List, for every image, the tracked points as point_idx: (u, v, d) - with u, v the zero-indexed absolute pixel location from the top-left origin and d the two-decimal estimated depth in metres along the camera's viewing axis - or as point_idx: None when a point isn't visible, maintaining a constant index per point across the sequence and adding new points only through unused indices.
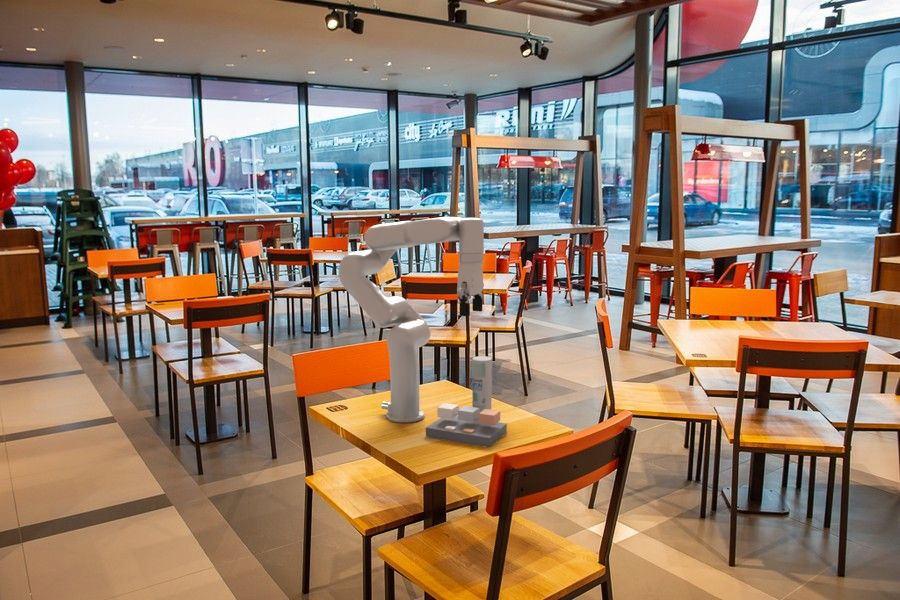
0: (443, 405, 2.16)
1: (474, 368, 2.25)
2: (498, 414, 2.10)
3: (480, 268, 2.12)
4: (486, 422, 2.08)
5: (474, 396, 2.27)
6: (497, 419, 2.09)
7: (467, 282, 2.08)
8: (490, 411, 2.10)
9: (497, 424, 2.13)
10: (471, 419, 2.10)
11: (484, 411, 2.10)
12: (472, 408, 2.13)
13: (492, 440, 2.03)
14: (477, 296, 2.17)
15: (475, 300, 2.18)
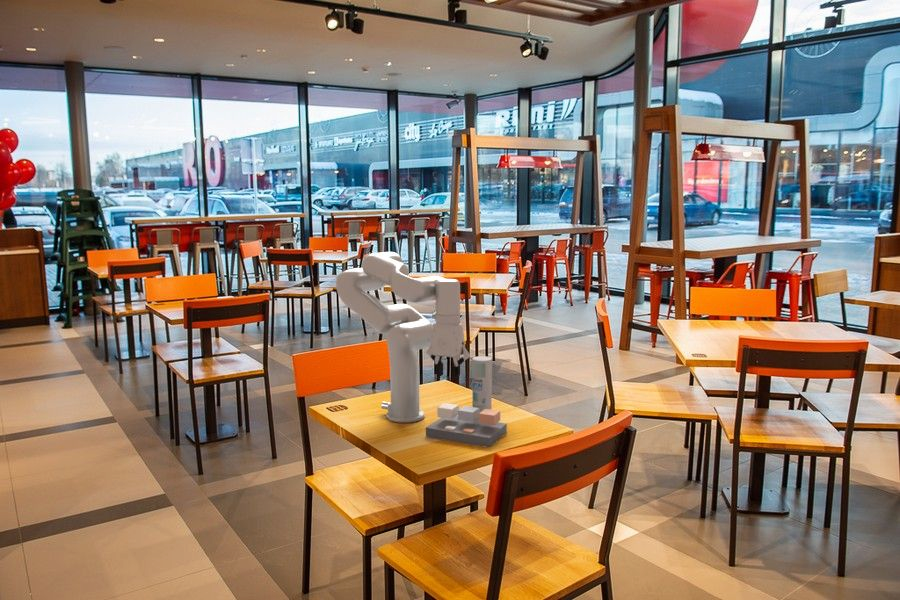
0: (443, 405, 2.16)
1: (474, 368, 2.25)
2: (498, 414, 2.10)
3: None
4: (486, 422, 2.08)
5: (474, 396, 2.27)
6: (497, 419, 2.09)
7: (463, 341, 2.11)
8: (490, 411, 2.10)
9: (497, 424, 2.13)
10: (471, 419, 2.10)
11: (484, 411, 2.10)
12: (472, 408, 2.13)
13: (492, 440, 2.03)
14: (440, 361, 2.15)
15: (440, 365, 2.14)
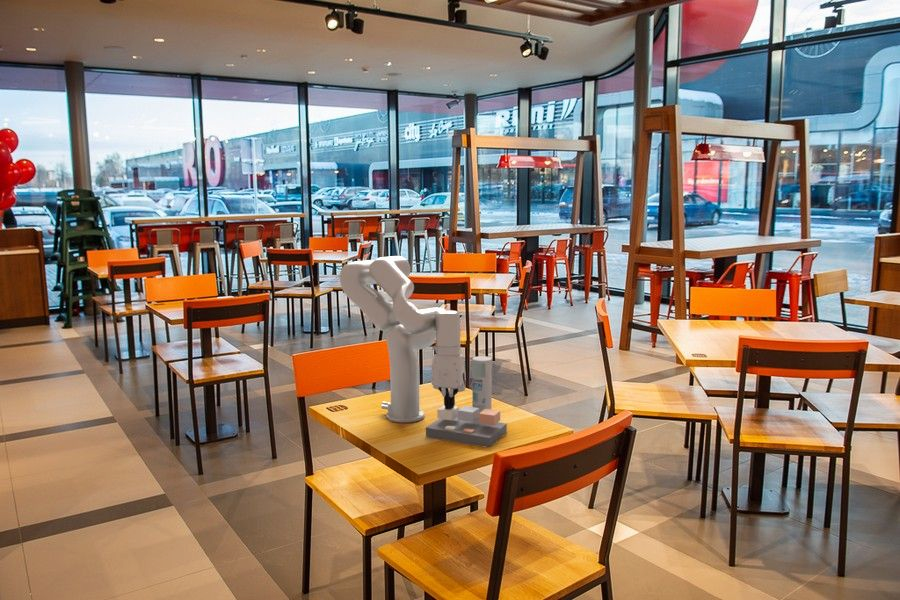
0: (443, 407, 2.16)
1: (474, 368, 2.25)
2: (498, 414, 2.10)
3: None
4: (486, 422, 2.08)
5: (474, 396, 2.27)
6: (497, 419, 2.09)
7: (464, 372, 2.12)
8: (490, 411, 2.10)
9: (497, 424, 2.13)
10: (471, 419, 2.10)
11: (484, 411, 2.10)
12: (472, 408, 2.13)
13: (492, 440, 2.03)
14: (447, 393, 2.15)
15: None
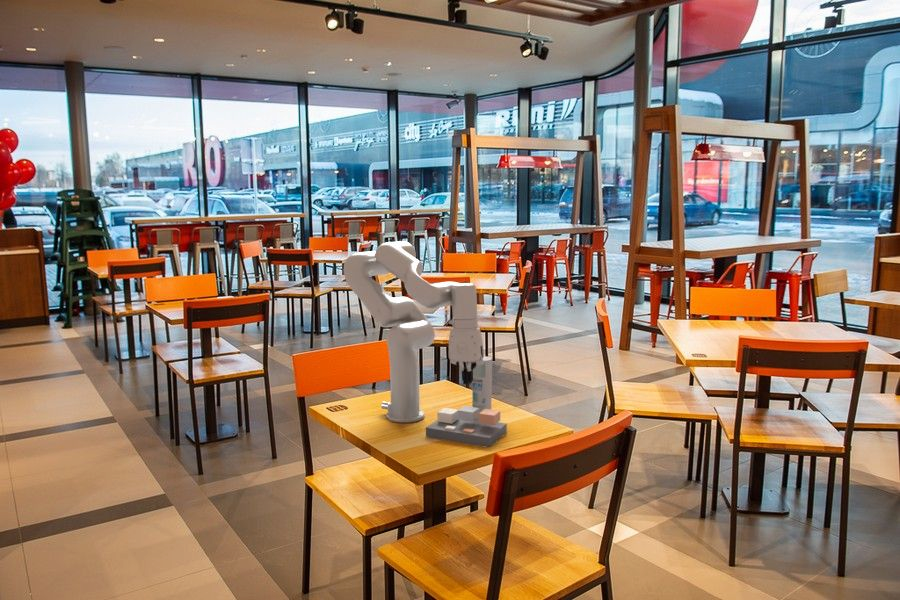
0: (443, 410, 2.16)
1: (474, 368, 2.25)
2: (498, 414, 2.10)
3: None
4: (486, 422, 2.08)
5: (474, 396, 2.27)
6: (497, 419, 2.09)
7: (482, 346, 2.08)
8: (490, 411, 2.10)
9: (497, 424, 2.13)
10: (471, 419, 2.10)
11: (484, 411, 2.10)
12: (472, 408, 2.13)
13: (492, 440, 2.03)
14: (465, 368, 2.11)
15: None
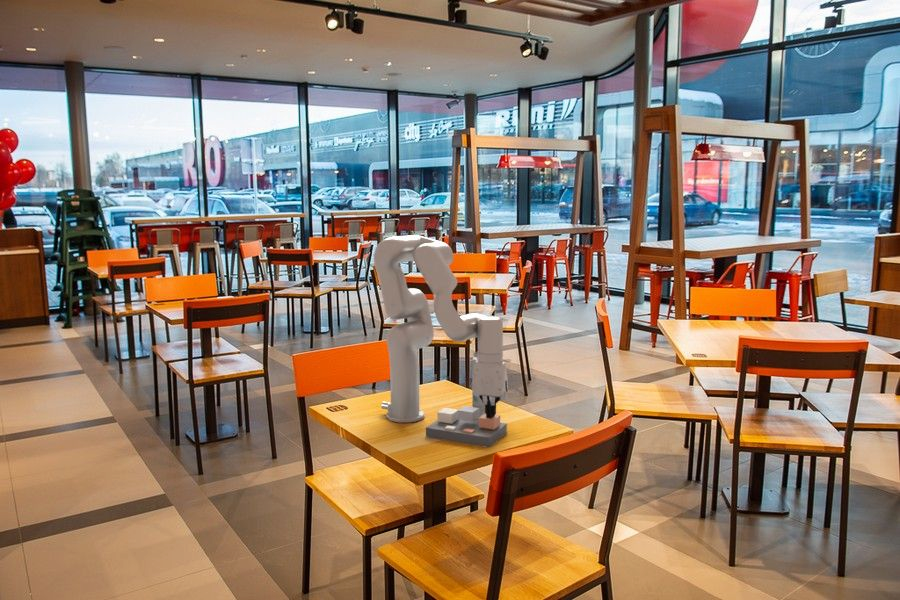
0: (443, 410, 2.16)
1: None
2: (498, 418, 2.10)
3: None
4: (486, 426, 2.08)
5: (474, 396, 2.27)
6: (497, 423, 2.09)
7: (506, 380, 2.07)
8: None
9: None
10: (471, 419, 2.10)
11: (484, 416, 2.10)
12: (472, 408, 2.13)
13: (492, 440, 2.03)
14: (489, 401, 2.09)
15: None
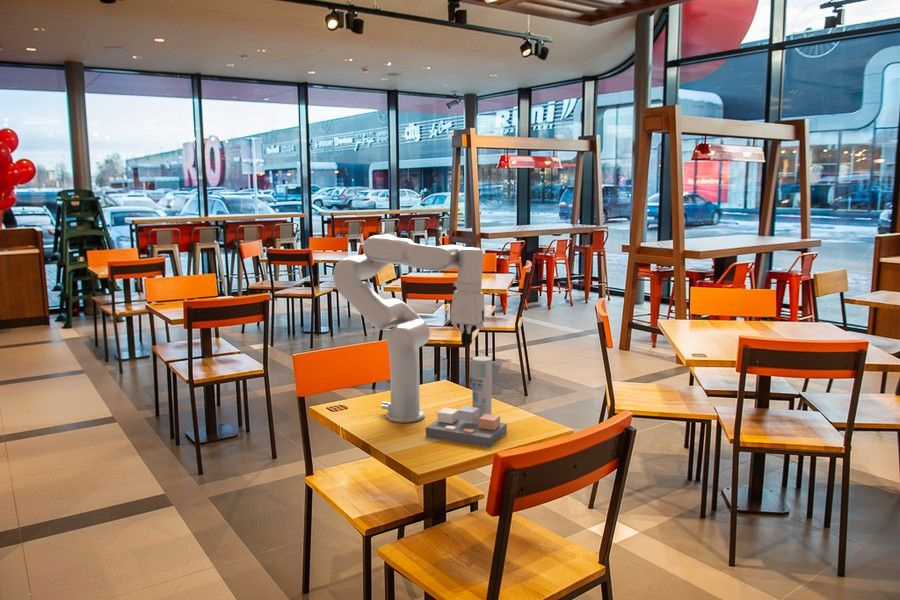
0: (443, 410, 2.16)
1: (474, 368, 2.25)
2: (498, 419, 2.10)
3: None
4: (486, 427, 2.08)
5: (474, 396, 2.27)
6: (497, 424, 2.09)
7: (483, 310, 2.13)
8: (490, 416, 2.10)
9: None
10: (471, 419, 2.10)
11: (484, 416, 2.10)
12: (472, 408, 2.13)
13: (492, 440, 2.03)
14: (465, 330, 2.16)
15: None
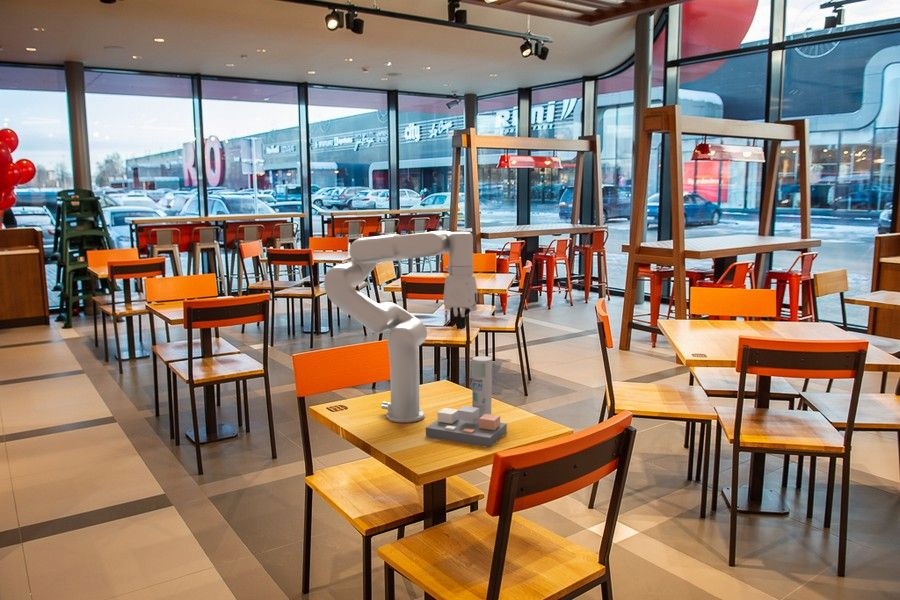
0: (443, 410, 2.16)
1: (474, 368, 2.25)
2: (498, 419, 2.10)
3: None
4: (486, 427, 2.08)
5: (474, 396, 2.27)
6: (497, 424, 2.09)
7: (476, 293, 2.17)
8: (490, 416, 2.10)
9: None
10: (471, 419, 2.10)
11: (484, 416, 2.10)
12: (472, 408, 2.13)
13: (492, 440, 2.03)
14: (459, 313, 2.19)
15: None
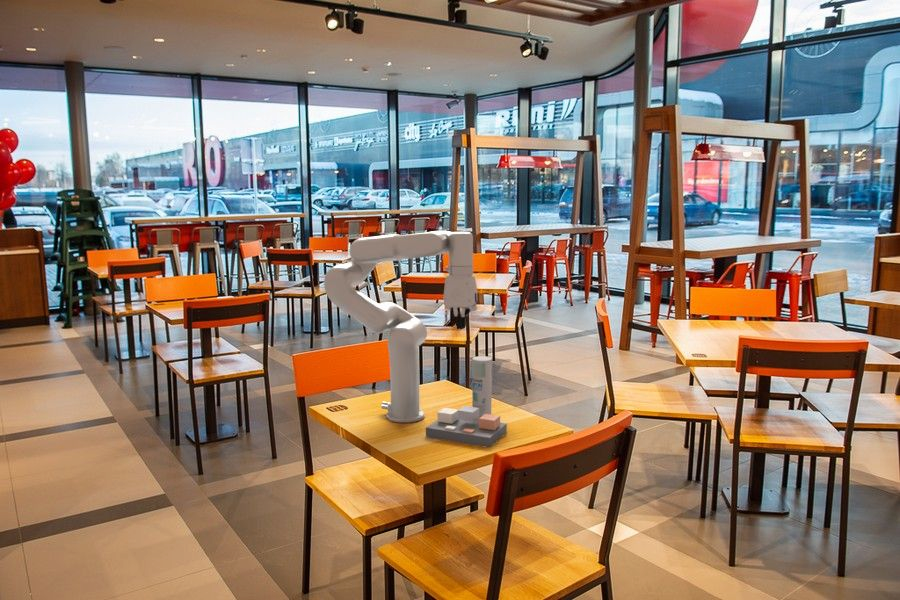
0: (443, 410, 2.16)
1: (474, 368, 2.25)
2: (498, 419, 2.10)
3: None
4: (486, 427, 2.08)
5: (474, 396, 2.27)
6: (497, 424, 2.09)
7: (476, 293, 2.17)
8: (490, 416, 2.10)
9: None
10: (471, 419, 2.10)
11: (484, 416, 2.10)
12: (472, 408, 2.13)
13: (492, 440, 2.03)
14: (459, 313, 2.19)
15: None
